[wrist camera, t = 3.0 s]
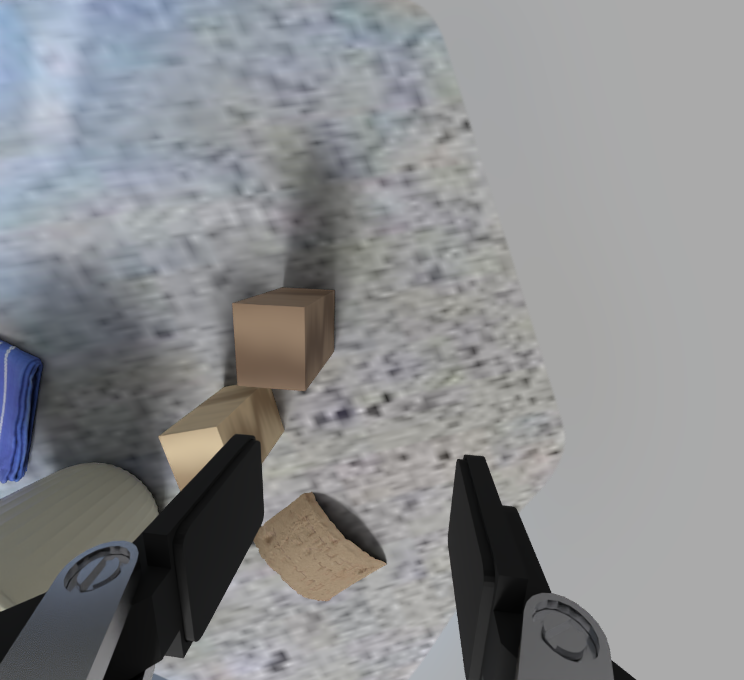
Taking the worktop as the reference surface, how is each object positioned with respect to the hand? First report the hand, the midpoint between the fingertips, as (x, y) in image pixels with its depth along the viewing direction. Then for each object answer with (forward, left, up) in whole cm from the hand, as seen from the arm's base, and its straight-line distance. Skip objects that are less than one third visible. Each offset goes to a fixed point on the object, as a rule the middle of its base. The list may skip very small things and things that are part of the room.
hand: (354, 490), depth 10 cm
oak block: (+10, -14, -24) cm, 29 cm away
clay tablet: (+27, -7, -24) cm, 37 cm away
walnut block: (0, -8, -24) cm, 25 cm away
